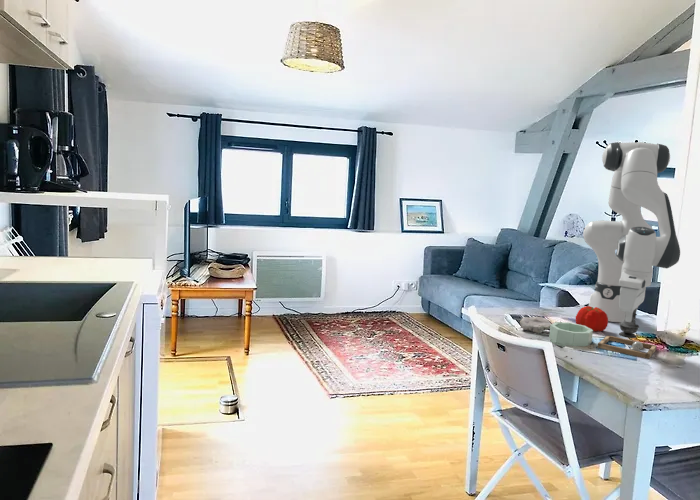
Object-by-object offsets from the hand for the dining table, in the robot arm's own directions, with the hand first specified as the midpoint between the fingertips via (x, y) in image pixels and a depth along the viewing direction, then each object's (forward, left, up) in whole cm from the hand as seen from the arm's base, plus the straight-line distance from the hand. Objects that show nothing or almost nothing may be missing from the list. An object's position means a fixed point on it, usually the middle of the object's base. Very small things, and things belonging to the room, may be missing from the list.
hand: (630, 320), depth 181 cm
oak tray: (+1, 0, -11) cm, 11 cm away
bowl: (+6, -16, -11) cm, 20 cm away
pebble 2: (+4, +5, -9) cm, 11 cm away
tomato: (-16, -15, -11) cm, 25 cm away
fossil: (-1, -30, -11) cm, 32 cm away
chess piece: (0, 0, -6) cm, 6 cm away
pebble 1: (-3, +4, -9) cm, 10 cm away
